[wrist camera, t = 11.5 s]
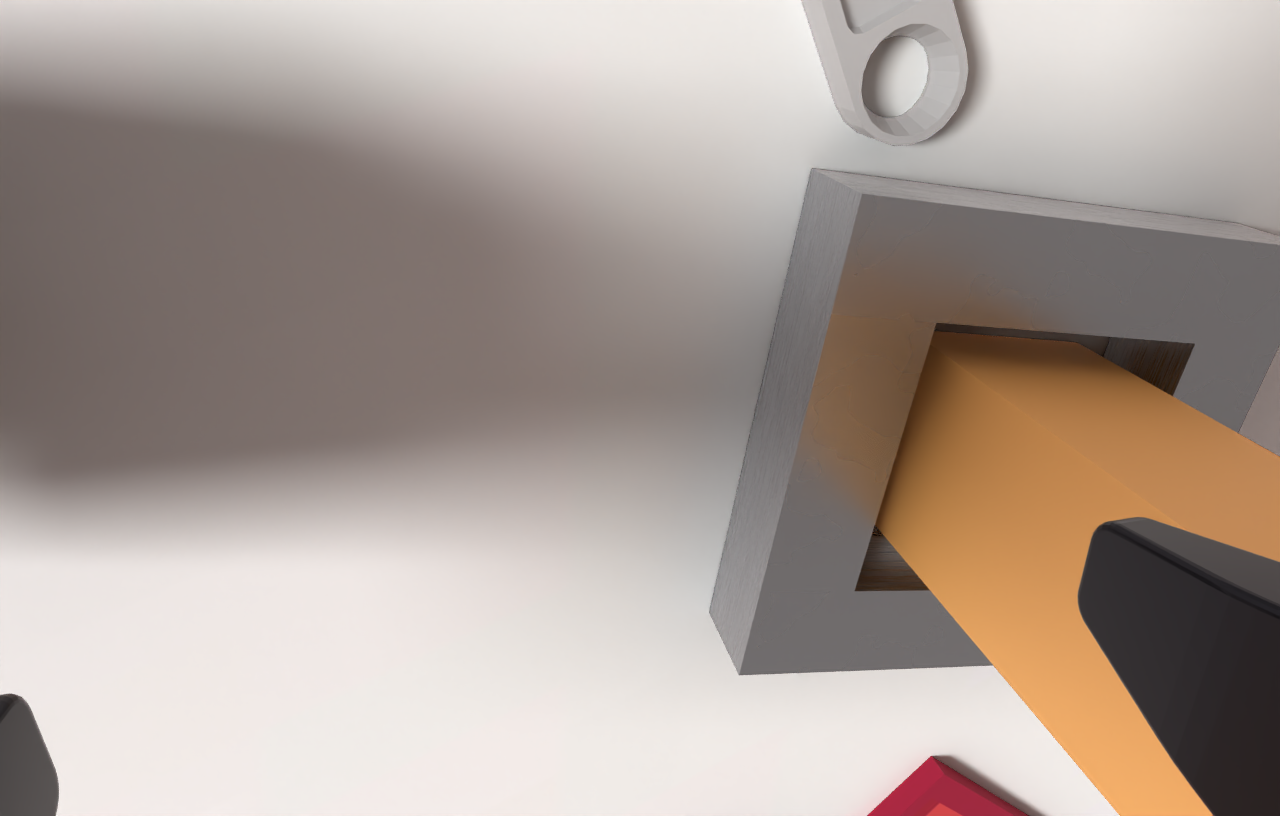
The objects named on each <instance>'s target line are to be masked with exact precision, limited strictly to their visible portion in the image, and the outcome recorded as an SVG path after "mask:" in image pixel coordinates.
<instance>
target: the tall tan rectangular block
mask: <svg viewBox="0 0 1280 816" xmlns="http://www.w3.org/2000/svg"><path fill="white" fill-rule="evenodd" d="M1133 517H1145V518H1149V519H1152V520H1155V521H1158V522H1161V523H1164V524H1167V525H1170V526H1173V527H1176V528H1179V529H1182V530H1185V531H1188V532H1191V533H1194V534H1197V535H1200V536H1203V537H1206V538H1209V539H1212V540H1215V541H1218V542H1221V543H1224V544H1227V545H1230V546H1233V547H1236V548H1239V549H1242V550H1245V551H1248V552H1251V553H1254V554H1257V555H1260V556H1263V557H1266V558H1269V559H1272V560H1275V561H1278V562H1280V457H1279V456H1278V455H1276V454H1274V453H1272V452H1271V451H1269V450H1267V449H1265V448H1263V447H1262V446H1260V445H1258V444H1256V443H1255V442H1253V441H1251V440H1249V439H1247V438H1246V437H1244V436H1242V435H1240V434H1239V433H1237V432H1235V431H1233V430H1232V429H1230V428H1228V427H1226V426H1224V425H1223V424H1221V423H1219V422H1217V421H1216V420H1214V419H1212V418H1210V417H1208V416H1207V415H1205V414H1203V413H1201V412H1200V411H1198V410H1196V409H1194V408H1193V407H1191V406H1189V405H1187V404H1185V403H1184V402H1182V401H1180V400H1178V399H1177V398H1175V397H1173V396H1171V395H1169V394H1168V393H1166V392H1164V391H1162V390H1161V389H1159V388H1157V387H1155V386H1153V385H1152V384H1150V383H1148V382H1146V381H1145V380H1143V379H1141V378H1139V377H1138V376H1136V375H1134V374H1132V373H1130V372H1129V371H1127V370H1125V369H1123V368H1122V367H1120V366H1118V365H1116V364H1114V363H1113V362H1111V361H1109V360H1107V359H1106V358H1104V357H1102V356H1100V355H1098V354H1097V353H1095V352H1093V351H1091V350H1090V349H1088V348H1086V347H1084V346H1083V345H1081V344H1079V343H1077V342H1067V341H1054V340H1042V339H1029V338H1017V337H1004V336H992V335H979V334H967V333H954V332H942V331H934V333H933V336H932V339H931V342H930V346H929V349H928V352H927V356H926V359H925V362H924V365H923V369H922V372H921V375H920V378H919V382H918V385H917V388H916V392H915V395H914V398H913V401H912V405H911V408H910V411H909V414H908V418H907V421H906V424H905V428H904V431H903V434H902V437H901V441H900V444H899V447H898V450H897V454H896V457H895V460H894V464H893V467H892V470H891V473H890V477H889V480H888V483H887V486H886V490H885V493H884V496H883V500H882V503H881V506H880V509H879V513H878V516H877V519H876V522H875V526H876V527H877V528H878V529H879V530H880V531H881V533H882V534H883V535H884V536H885V537H886V539H887V540H888V541H889V542H890V543H891V545H892V546H893V547H894V548H895V549H896V550H897V552H898V553H899V554H900V555H901V556H902V558H903V559H904V560H905V561H906V562H907V564H908V565H909V566H910V567H911V568H912V569H913V571H914V572H915V573H916V574H917V575H918V577H919V578H920V579H921V580H922V581H923V583H924V584H925V585H926V586H927V587H928V588H929V590H930V591H931V592H932V593H933V594H934V596H935V597H936V598H937V599H938V600H939V602H940V603H941V604H942V605H943V606H944V607H945V609H946V610H947V611H948V612H949V613H950V615H951V616H952V617H953V618H954V619H955V621H956V622H957V623H958V624H959V625H960V626H961V628H962V629H963V630H964V631H965V632H966V634H967V635H968V636H969V637H970V638H971V640H972V641H973V642H974V643H975V644H976V645H977V647H978V648H979V649H980V650H981V651H982V653H983V654H984V655H985V656H986V657H987V659H988V660H989V661H990V662H991V663H992V664H993V666H994V667H995V668H996V669H997V670H998V672H999V673H1000V674H1001V675H1002V676H1003V677H1004V679H1005V680H1006V681H1007V682H1008V683H1009V685H1010V686H1011V687H1012V688H1013V689H1014V691H1015V692H1016V693H1017V694H1018V695H1019V696H1020V698H1021V699H1022V700H1023V701H1024V702H1025V704H1026V705H1027V706H1028V707H1029V708H1030V710H1031V711H1032V712H1033V713H1034V714H1035V715H1036V717H1037V718H1038V719H1039V720H1040V721H1041V723H1042V724H1043V725H1044V726H1045V727H1046V729H1047V730H1048V731H1049V732H1050V733H1051V734H1052V736H1053V737H1054V738H1055V739H1056V740H1057V742H1058V743H1059V744H1060V745H1061V746H1062V748H1063V749H1064V750H1065V751H1066V752H1067V753H1068V755H1069V756H1070V757H1071V758H1072V759H1073V761H1074V762H1075V763H1076V764H1077V765H1078V767H1079V768H1080V769H1081V770H1082V771H1083V772H1084V774H1085V775H1086V776H1087V777H1088V778H1089V780H1090V781H1091V782H1092V783H1093V784H1094V786H1095V787H1096V788H1097V789H1098V790H1099V791H1100V793H1101V794H1102V795H1103V796H1104V797H1105V799H1106V800H1107V801H1108V802H1109V803H1110V804H1111V806H1112V807H1113V808H1114V809H1115V810H1116V812H1117V813H1118V814H1119V815H1120V816H1213V815H1212V813H1211V812H1210V811H1209V810H1208V808H1207V807H1206V806H1205V804H1204V803H1203V802H1202V800H1201V799H1200V798H1199V796H1198V795H1197V794H1196V792H1195V791H1194V790H1193V789H1192V787H1191V786H1190V785H1189V783H1188V782H1187V780H1186V779H1185V778H1184V776H1183V775H1182V774H1181V772H1180V771H1179V769H1178V768H1177V767H1176V765H1175V764H1174V763H1173V761H1172V760H1171V758H1170V757H1169V755H1168V754H1167V752H1166V751H1165V749H1164V747H1163V746H1162V744H1161V743H1160V741H1159V740H1158V738H1157V737H1156V735H1155V734H1154V732H1153V731H1152V729H1151V727H1150V726H1149V724H1148V723H1147V721H1146V719H1145V718H1144V716H1143V715H1142V713H1141V711H1140V710H1139V708H1138V707H1137V705H1136V704H1135V702H1134V700H1133V699H1132V697H1131V696H1130V694H1129V692H1128V691H1127V689H1126V688H1125V686H1124V684H1123V683H1122V681H1121V680H1120V678H1119V677H1118V675H1117V673H1116V672H1115V670H1114V669H1113V667H1112V665H1111V664H1110V662H1109V661H1108V659H1107V658H1106V656H1105V654H1104V653H1103V651H1102V650H1101V648H1100V646H1099V645H1098V643H1097V642H1096V640H1095V638H1094V637H1093V635H1092V634H1091V632H1090V631H1089V629H1088V627H1087V626H1086V624H1085V622H1084V621H1083V619H1082V616H1081V614H1080V611H1079V607H1078V597H1077V595H1078V589H1079V585H1080V581H1081V577H1082V573H1083V569H1084V565H1085V561H1086V557H1087V553H1088V549H1089V545H1090V541H1091V537H1092V535H1093V532H1094V531H1095V530H1096V529H1097V527H1098V526H1099V525H1101V524H1103V523H1105V522H1108V521H1114V520H1120V519H1127V518H1133Z"/></svg>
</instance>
